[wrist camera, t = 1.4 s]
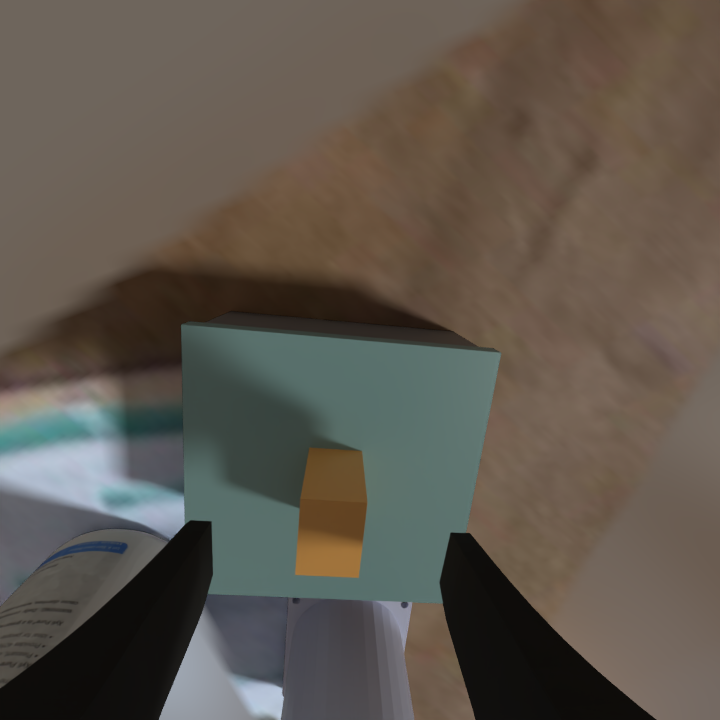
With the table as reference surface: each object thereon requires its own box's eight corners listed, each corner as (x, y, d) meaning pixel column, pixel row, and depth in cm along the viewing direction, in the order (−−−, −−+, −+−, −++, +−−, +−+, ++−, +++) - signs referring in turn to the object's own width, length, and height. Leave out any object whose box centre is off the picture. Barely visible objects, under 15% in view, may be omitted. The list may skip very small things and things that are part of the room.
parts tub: (422, 519, 23) (443, 586, 19) (228, 508, 23) (197, 575, 18) (453, 331, 21) (487, 352, 16) (230, 311, 20) (194, 326, 15)
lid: (443, 576, 19) (477, 683, 15) (199, 565, 19) (147, 674, 14) (486, 344, 16) (548, 379, 12) (197, 318, 16) (129, 344, 11)
